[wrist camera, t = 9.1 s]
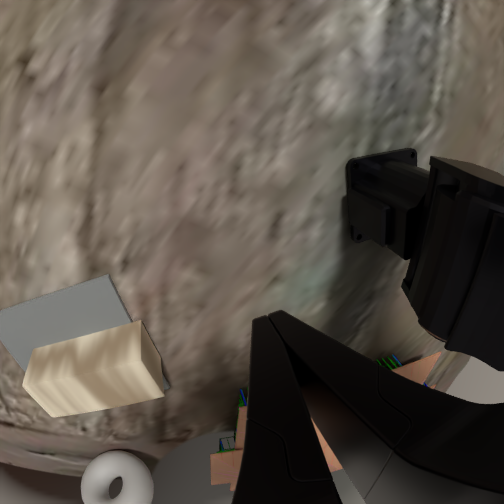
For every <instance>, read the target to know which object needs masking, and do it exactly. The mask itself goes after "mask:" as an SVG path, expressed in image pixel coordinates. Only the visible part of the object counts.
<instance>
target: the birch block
mask: <svg viewBox="0 0 504 504" xmlns="http://www.w3.org/2000/svg"><path fill="white" fill-rule="evenodd" d="M22 386H23V387H24V389H25V390H26V391H27V392H28V393H29V394H30V395H31V396H32V397H33V398H34V399H35V400H36V401H37V403H38V404H39V405H40V406H41V407H42V408H43V409H44V410H45V411H46V412H47V413H48V414H49V415H50V416H51V417H59V416H67V415H74V414H80V413H86V412H92V411H98V410H104V409H109V408H114V407H119V406H124V405H129V404H134V403H138V402H143V401H147V400H152V399H156V398H160V397H164V387H163V378H162V368H161V357H160V355H159V353H158V352H157V350H156V348H155V346H154V344H153V342H152V341H151V339H150V337H149V335H148V333H147V331H146V329H145V327H144V325H143V323H142V321H141V320H139V321H136V322H132V323H128V324H125V325H121V326H118V327H114V328H111V329H107V330H103V331H100V332H96V333H92V334H89V335H85V336H81V337H77V338H74V339H70V340H66V341H62V342H58V343H54V344H51V345H47V346H43V347H39V348H35V349H33V351H32V354H31V357H30V361H29V364H28V367H27V370H26V374H25V377H24V381H23V384H22Z"/></svg>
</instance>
